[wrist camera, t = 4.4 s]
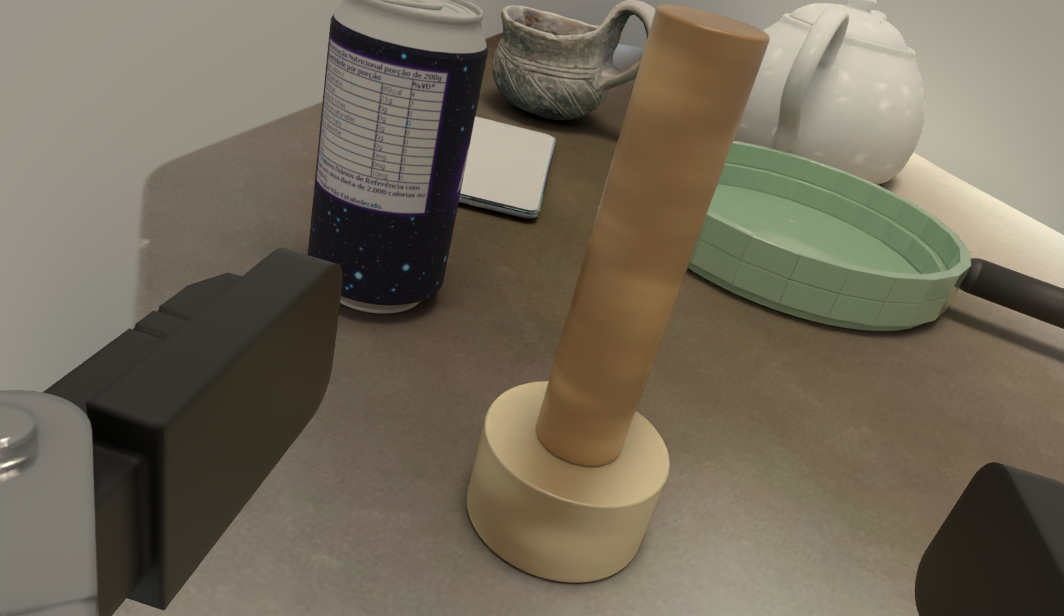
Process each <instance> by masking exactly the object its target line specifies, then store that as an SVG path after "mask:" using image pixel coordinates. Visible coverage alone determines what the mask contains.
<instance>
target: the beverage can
mask: <svg viewBox="0 0 1064 616" xmlns="http://www.w3.org/2000/svg"><path fill="white" fill-rule="evenodd" d="M483 16H484V13H483V11H482V10H481V9H480V8H479V7H478V6H476V5H475V4H472V3H470V2H468V1H466V0H343V1H342V2H341V4H340V5H339V7H338V8H337V10H336V11H335V13H334V14H333V16H332V18H331V24H330V34H329V44H328V54H327V64H326V75H325V85H324V96H323V105H322V115H321V126H320V136H319V146H318V156H317V166H316V177H315V187H314V197H313V207H312V217H311V227H310V238H309V248H308V256H312V257H315V258H319V259H322V260H325V261H329V262H332V263H335V264H338V265H339V266H340V267H341V270H342V290H341V299H340V303H341V304H343V305H345V306H347V307H350V308H353V309H356V310H360V311H364V312H370V313H397V312H402V311H406V310H408V309H411V308H413V307H414V306H416V305H417V304H418V303H419V302H420V301H423V300H425V299H427V298H428V297H430V296H432V295H433V294H435V293H436V292H437V291H438V290H439V289H440V288H441V286H442V284H443V280H444V275H445V269H446V264H447V259H448V254H449V249H450V244H451V239H452V233H453V228H454V223H455V218H456V213H457V208H458V203H459V197H460V192H461V187H462V182H463V177H464V172H465V167H466V161H467V156H468V151H469V146H470V141H471V136H472V131H473V125H474V120H475V115H476V110H477V105H478V100H479V95H480V89H481V84H482V79H483V74H484V69H485V64H486V59H487V54H488V50H487V45H486V42H485V38H484V34H483V30H482V26H481V21H482V20H483Z"/></svg>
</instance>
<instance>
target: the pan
mask: <svg viewBox="0 0 1064 616" xmlns="http://www.w3.org/2000/svg"><path fill="white" fill-rule="evenodd" d="M970 267H971V256H970V251H969V249H968V248H967V247H966V245H965V244H964V243H963V241H962V240H961V239H960V237H959V236H958V235H957V234H956V233H955V232H953V231H952V230H951V229H950V228H948V227H947V226H946V225H945V224H944V223H942V222H941V221H940V220H939V219H937V218H936V217H935V216H933V215H931V214H930V213H928V212H927V211H925V210H923V209H922V208H920V207H918V206H917V205H915V204H914V203H912V202H910V201H908V200H906V199H904V198H902V197H900V196H899V195H897V194H895V193H893V192H891V191H889V190H887V189H885V188H883V187H881V186H879V185H877V184H874V183H872V182H869V181H867V180H865V179H862V178H860V177H857V176H855V175H853V174H850V173H848V172H846V171H842V170H840V169H837V168H834V167H831V166H829V165H826V164H823V163H820V162H817V161H814V160H811V159H807V158H805V157H801V156H798V155H794V154H791V153H787V152H784V151H780V150H776V149H772V148H768V147H763V146H759V145H754V144H749V143H744V142H739V141H733V143H732V146H731V149H730V152H729V154H728V157H727V160H726V163H725V165H724V168H723V171H722V174H721V177H720V179H719V182H718V185H717V188H716V190H715V193H714V196H713V199H712V201H711V204H710V207H709V210H708V213H707V215H706V218H705V221H704V224H703V226H702V229H701V232H700V235H699V237H698V240H697V243H696V246H695V248H694V251H693V254H692V257H691V260H690V262H689V265H688V268H689V269H690V270H692V271H693V272H695V273H697V274H698V275H700V276H702V277H704V278H705V279H707V280H709V281H710V282H712V283H714V284H716V285H718V286H720V287H722V288H724V289H726V290H728V291H730V292H732V293H735V294H737V295H739V296H741V297H744V298H746V299H748V300H751V301H753V302H755V303H758V304H761V305H763V306H766V307H769V308H771V309H774V310H777V311H780V312H783V313H786V314H789V315H792V316H796V317H799V318H803V319H807V320H810V321H814V322H818V323H822V324H827V325H832V326H837V327H842V328H849V329H856V330H866V331H898V330H905V329H910V328H913V327H916V326H919V325H921V324H923V323H927V322H932V321H934V320H936V319H937V318H938V317H939V316H940V315H941V314H942V313H943V312H944V311H946V310H947V308H948V307H949V305H950V303H951V301H952V299H953V298H954V296H955V294H956V292H957V290H958V289H959V287H960V285H961V283H962V281H963V280H964V278H965V276H966V274H967V272H968V271H969V269H970Z"/></svg>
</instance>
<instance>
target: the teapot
mask: <svg viewBox="0 0 1064 616" xmlns="http://www.w3.org/2000/svg"><path fill="white" fill-rule="evenodd" d="M876 3H877V1H876V0H846V5H839V4H831V3H816V4H810V5H806V6H803V7H801V8H799V9H797V10H795V11H794V12H793V13H792V14H784V15H783V16H782V18H781V19H780V20H779V21H778V22H777V23H775V24H773V25H772V26H770V27H768V28H766V29H765V30H764V32H765V33H766V34H768V35H769V37H770V41H769V44H768V47H767V49H766V52H765V55H764V58H763V60H762V63H761V66H760V69H759V71H758V74H757V77H756V80H755V83H754V85H753V88H752V91H751V94H750V96H749V99H748V102H747V105H746V107H745V110H744V113H743V116H742V118H741V121H740V124H739V127H738V130H737V132H736V135H735V138H734V141H739V142H744V143H749V144H754V145H759V146H763V147H768V148H772V149H776V150H780V151H784V152H787V153H791V154H794V155H798V156H801V157H805V158H807V159H811V160H814V161H817V162H820V163H823V164H826V165H829V166H831V167H834V168H837V169H840V170H842V171H846V172H848V173H850V174H853V175H855V176H857V177H860V178H862V179H865V180H867V181H869V182H872V183H874V184H882V183H885V182H887V181H889V180H890V179H892V178H893V177H895V176H896V175H897V174H898V173H899V172H900V171H901V170H902V169H903V167H904V166H905V165H906V163H907V162H908V160H909V159H910V157H911V155H912V153H913V151H914V149H915V147H916V145H917V143H918V140H919V138H920V134H921V131H922V127H923V122H924V116H925V94H924V87H923V83H922V78H921V75H920V71H919V69H918V66H917V63H916V60H915V56H916V52H915V51H914V50H913V49H911V48H909V47H907V46H906V44H905V42H904V39H903V38H902V36H901V34H900V33H899V31H898V30H897V29H896V28H895V27H893V26H892V25H891V24H890V23H888V22H887V21H888V18H887V16H886V15H885V14H883V13H881V12H879V11H876V10H871V9H873V8H874V6H875V5H876Z"/></svg>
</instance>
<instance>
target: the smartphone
mask: <svg viewBox="0 0 1064 616" xmlns="http://www.w3.org/2000/svg"><path fill="white" fill-rule="evenodd" d="M555 141H556V138H555V137H554V136H552V135H550V134H546V133H542V132H538V131H534V130H530V129H526V128H522V127H518V126H514V125H510V124H506V123H502V122H498V121H494V120H490V119H486V118H482V117H478V116H475V120H474V125H473V131H472V136H471V141H470V146H469V151H468V156H467V161H466V167H465V172H464V177H463V182H462V187H461V192H460V197H459V202H461V203H465V204H469V205H473V206H477V207H481V208H486V209H490V210H494V211H498V212H502V213H506V214H510V215H514V216H518V217H522V218H535V217H537V216H538V214H539V211H540V207H541V202H542V198H543V193H544V189H545V185H546V180H547V176H548V171H549V167H550V163H551V159H552V155H553V149H554V146H555Z"/></svg>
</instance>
